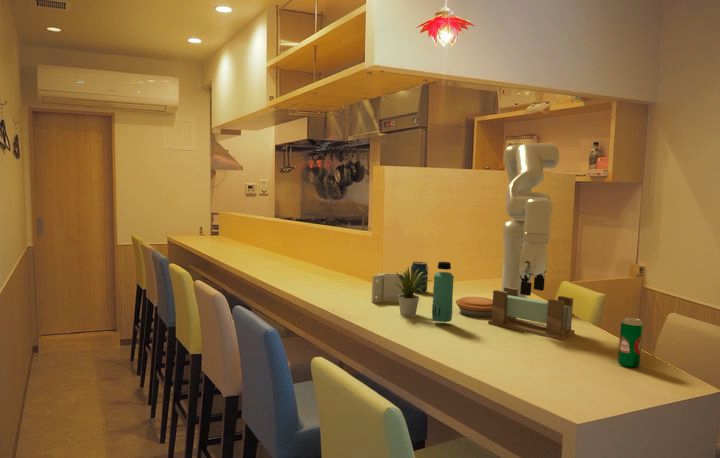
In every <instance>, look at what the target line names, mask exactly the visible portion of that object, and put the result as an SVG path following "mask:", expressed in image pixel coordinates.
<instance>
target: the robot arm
mask: <svg viewBox="0 0 720 458" xmlns="http://www.w3.org/2000/svg"><path fill="white" fill-rule="evenodd" d="M503 161H504V163H503V164H504V167H505V170H506V173H507V178H508V186H507V188H506V191H505V207H506V214H507V216H508V217H509V218H510V219H512V220H510V219H509V220H508V221H506V222H504V224H503V225H502V240H503V256H502V257H503V259H502V262H503V263H502V276H501V290H500V291H504V288H505V287H510V288H516V289H518V297H522V298H527V299H530V298H529V296H531V295H532V279H533V289H534V290H535V291H542V292H543V291H544V290H545V280H546V279H545V278H546V272H547V265H548V262H547V259H548V247H547V245H549V243H550V239H551V227H552V214H553V203H552V200H551V196H550V195H549V194H548V193H546V192H541V191H540V192H538V191H537V192H535V191H533V190H532V189H533V188H535V187H538V186H539V185H540V184H541V183H543V182H544V177H545V173H544V169H547V170H548V169H554V168H556V167H558V164H559V162H560V151H559V149H558V147H557V145H556V144H554V143H545V142H544V143H541V142H538V143H537V142H529V143H528V142H527V143H524V144H512V145H509V146H507V147H505V150H504V154H503ZM533 277H534V278H533ZM527 296H528V297H527Z"/></svg>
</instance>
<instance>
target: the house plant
mask: <svg viewBox="0 0 720 458" xmlns="http://www.w3.org/2000/svg"><path fill="white" fill-rule="evenodd" d="M418 270H419V268H418V269H417V270H416V272H415V273H414V274H413V276H412V277H411V271H410V268H409V266H408V267H407V269H405V271H400V272H401V273H398V272H395V274H397V275H398V277H399V278H400V280H401V283H402V285H403V287H404V288H402V287H401V286H400V285H399V284H397V283H392V284H394V285H396V286H398V287H399V291H401V290H402V292H403V293H404V294H401V295H399V296H398V298H399V302H398V304H399V313H400V315H401V316H404V317H414V316H416V314H417V309H418V305H419V300H420V296H419V295H417V293H416V292H417V290H420V291H421V292H422V290H421V289H423V288H425V286H426V285H424V286H422V285H420V286H422V287H420V286H417V287H416V285H417V284H419V283H422V282H425V281H427V282H430V281H432V279H428V280H422V281H420V280H421V279H420V278H419V277H420V276H421V274H422V273H423V272H421V273H420V274H418V275H417V276H416V274H417V271H418ZM424 272H425V271H424ZM401 274H404V275H405V278H404V277H403V276H402V275H401ZM425 276H427V275H425ZM399 278H398V279H399ZM418 278H419V279H420V280H419V279H418ZM421 278H422V277H421ZM423 278H426V277H424V276H423ZM423 278H422V279H423ZM410 279H411V280H410ZM418 280H419V281H418ZM417 281H418V282H417ZM415 287H416V288H415ZM418 287H420V288H418ZM400 289H401V290H400ZM426 289H427V290H428V287H427V288H426ZM399 291H398V292H399Z"/></svg>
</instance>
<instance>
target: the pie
mask: <svg viewBox="0 0 720 458" xmlns="http://www.w3.org/2000/svg"><path fill="white" fill-rule="evenodd" d="M455 304H456V305H457V307H458V309H459V311H460V312H461V313H462V314H463V315H465V316H469V315H470V317H476V316H477V317H478V318H486V317H487V318H488V317H489V318H490V317H492V305H493V298H489V297H481V296H464V297H461V298H458V299H456V300H455Z"/></svg>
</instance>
